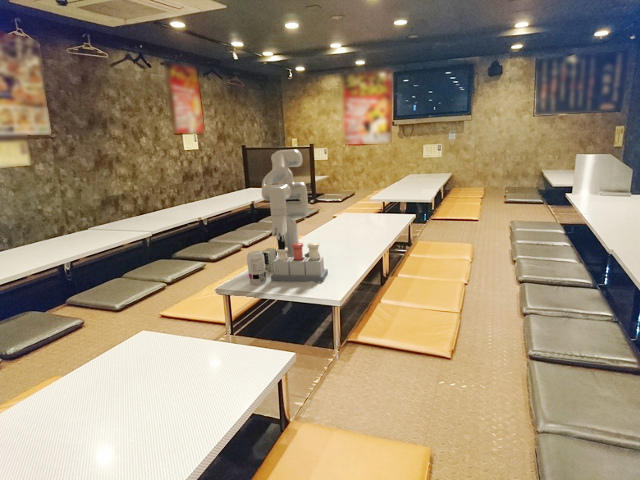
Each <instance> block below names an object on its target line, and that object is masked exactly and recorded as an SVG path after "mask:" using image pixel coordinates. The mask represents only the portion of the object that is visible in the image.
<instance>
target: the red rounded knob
mask: <svg viewBox="0 0 640 480" xmlns="http://www.w3.org/2000/svg"><path fill="white" fill-rule="evenodd" d="M303 247H304V243H303V242H299V243H294V244H292V248H293V254H294V261H303V257H304V255H303Z"/></svg>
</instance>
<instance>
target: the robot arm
mask: <svg viewBox="0 0 640 480" xmlns="http://www.w3.org/2000/svg"><path fill="white" fill-rule="evenodd" d="M270 159H271V160H270V161H271V164H272V165H271V166H272V167H271V168H272V169H271V170H270V171H269V172H268V173H267V174H266V175H265V176H264V177H263V179H262V183H261V197H262V199H263V200H265V201H269V206H270V216H271V232H272V233H271V235H272V237H275V238H276V240H277V248H278V249H285V247H286V248H288V251H287V257H292V258H293V257H294V254H293V248H292V244H294V243H300V242H299V231H298V224H297V222H296V220H294V219H295V218H298V219H299V218H307V216H308V215H309V202H308V201H309V199H308V189H307V185H306V183H305V182H301V181H299V182H298V181H296V182H294V174H293V172H292V170H291V169H290V168H293V167H294V168H298V167H301V166H302V164H303V155H302V152H301V150H298V149H283V150H282V149H280V150H277V151H275V152H274V153H272V154H271V157H270ZM275 183H278V184H275ZM286 200H295V201H286ZM296 200H297V201H296ZM298 200H299V201H298Z"/></svg>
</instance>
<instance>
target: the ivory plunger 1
mask: <svg viewBox="0 0 640 480" xmlns="http://www.w3.org/2000/svg"><path fill="white" fill-rule="evenodd" d="M275 249H276V252H277V258H278V260H279V261H287V251H288V248H286V247H285V249H278V247H277V248H275Z"/></svg>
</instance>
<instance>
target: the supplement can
mask: <svg viewBox="0 0 640 480" xmlns="http://www.w3.org/2000/svg"><path fill="white" fill-rule="evenodd" d="M246 261H247V263H246V264H247V270H248V271H247V272H248V281H249V284H250V285H253V286H258V285H259V286H261V285H263V284H265V283H266V282H267V274H266V273H267V271H265V265H266V264H265V260H264V254H263V253H262V250H261V251H260V250H256V251H255V250H254V251H250V252H248V253H247V255H246Z"/></svg>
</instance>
